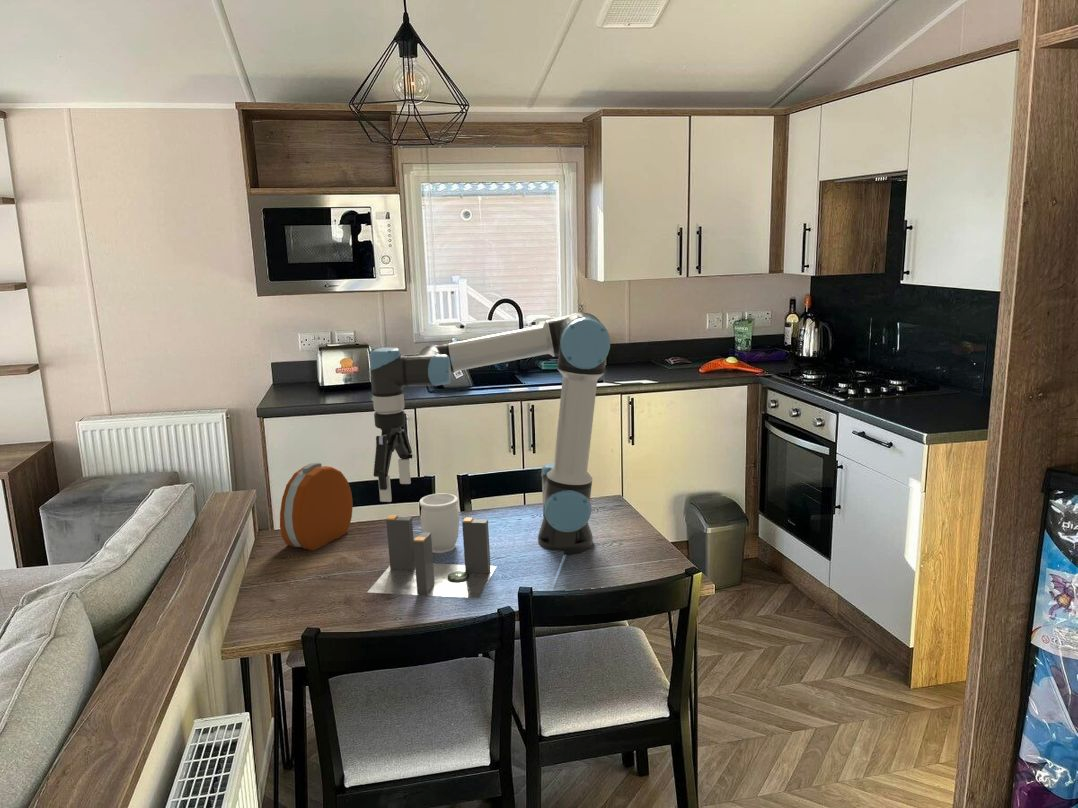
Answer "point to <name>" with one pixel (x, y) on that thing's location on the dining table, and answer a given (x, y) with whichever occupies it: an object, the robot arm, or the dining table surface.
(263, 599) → the dining table surface
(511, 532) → the dining table surface
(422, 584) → the grey standing slab
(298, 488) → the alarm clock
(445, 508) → the jar
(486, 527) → the grey tall block piece
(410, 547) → the grey tall block
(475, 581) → the plate
